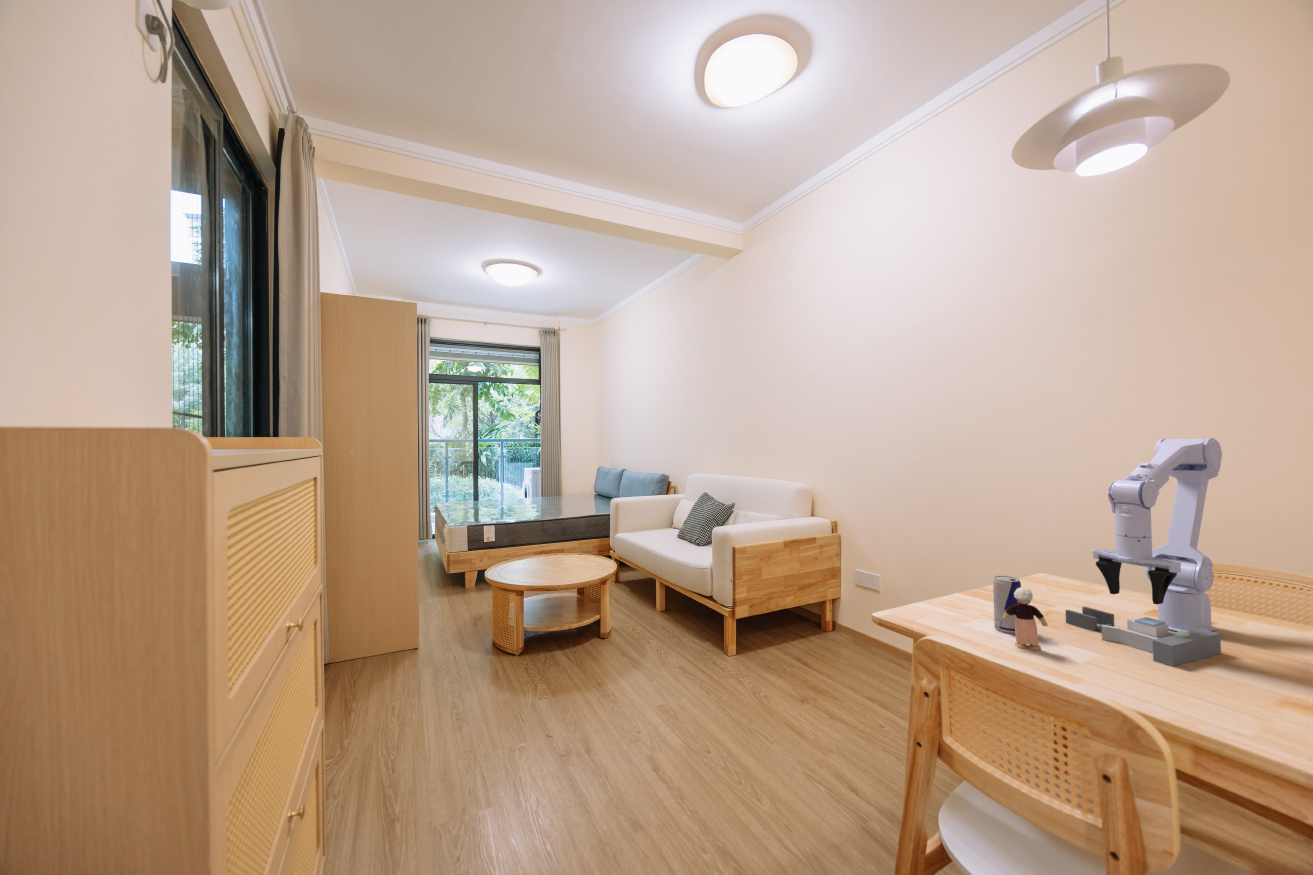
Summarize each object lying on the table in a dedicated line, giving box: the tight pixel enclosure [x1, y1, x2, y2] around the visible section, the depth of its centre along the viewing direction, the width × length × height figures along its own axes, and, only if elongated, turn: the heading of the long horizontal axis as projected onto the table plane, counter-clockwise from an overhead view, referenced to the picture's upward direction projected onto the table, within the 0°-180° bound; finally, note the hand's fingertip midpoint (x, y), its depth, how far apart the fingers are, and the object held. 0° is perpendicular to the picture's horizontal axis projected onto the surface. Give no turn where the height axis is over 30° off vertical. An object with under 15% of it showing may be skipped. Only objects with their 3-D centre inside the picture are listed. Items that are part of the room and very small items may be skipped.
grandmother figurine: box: [1002, 586, 1049, 652], centre depth 109 cm, size 8×4×13 cm, turn 71°
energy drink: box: [992, 575, 1022, 635], centre depth 118 cm, size 5×5×12 cm
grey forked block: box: [1101, 618, 1222, 668], centre depth 107 cm, size 16×14×5 cm
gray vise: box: [1065, 606, 1115, 632], centre depth 121 cm, size 13×7×3 cm, turn 109°
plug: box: [1133, 616, 1169, 639], centre depth 107 cm, size 4×4×6 cm
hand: (1135, 598), depth 110 cm, fingers open, 7 cm apart
